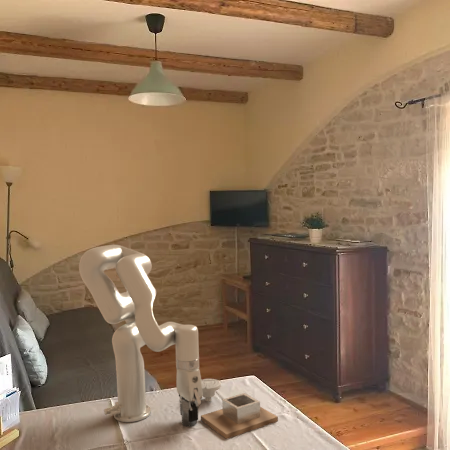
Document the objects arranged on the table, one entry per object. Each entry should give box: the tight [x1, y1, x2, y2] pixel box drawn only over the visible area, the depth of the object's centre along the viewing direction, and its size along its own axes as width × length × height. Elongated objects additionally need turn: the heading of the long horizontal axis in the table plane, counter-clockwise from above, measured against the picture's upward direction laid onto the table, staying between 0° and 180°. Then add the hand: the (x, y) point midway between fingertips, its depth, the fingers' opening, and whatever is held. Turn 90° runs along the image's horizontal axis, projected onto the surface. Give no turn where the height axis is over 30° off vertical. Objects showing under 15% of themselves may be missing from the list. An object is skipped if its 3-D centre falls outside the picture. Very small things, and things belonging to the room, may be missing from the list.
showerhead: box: [201, 377, 222, 402], centre depth 177 cm, size 9×7×10 cm
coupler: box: [180, 397, 198, 427], centre depth 160 cm, size 5×5×8 cm
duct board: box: [200, 392, 279, 440], centre depth 160 cm, size 20×16×6 cm
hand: (189, 417), depth 160 cm, fingers closed on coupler, 5 cm apart
